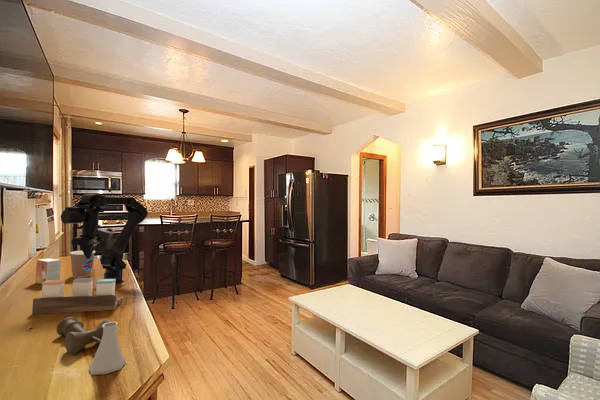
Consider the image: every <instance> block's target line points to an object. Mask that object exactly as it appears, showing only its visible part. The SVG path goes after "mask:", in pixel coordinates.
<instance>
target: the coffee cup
mask: <svg viewBox="0 0 600 400" xmlns="http://www.w3.org/2000/svg"><path fill="white" fill-rule="evenodd" d="M95 253H96V250H93V252H92V255H91V258H90V259H86V257H85V255H84V253H83V251H82V250H74V251H70V252H69V254H70V263H71V265H70V266H71V274H72V277H73V278H75V277H77V278H88V277H90V276H91V273H92V269H93V264H94V258H95ZM77 278H76V279H77Z"/></svg>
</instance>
